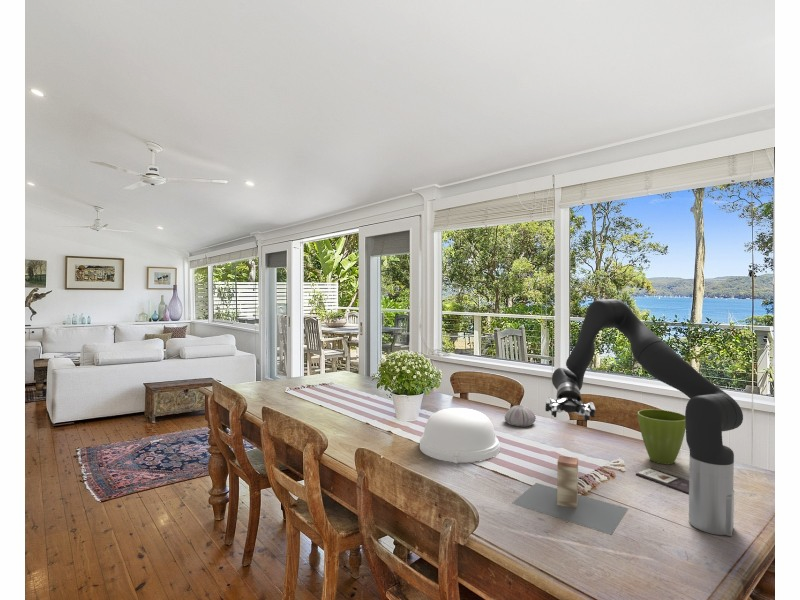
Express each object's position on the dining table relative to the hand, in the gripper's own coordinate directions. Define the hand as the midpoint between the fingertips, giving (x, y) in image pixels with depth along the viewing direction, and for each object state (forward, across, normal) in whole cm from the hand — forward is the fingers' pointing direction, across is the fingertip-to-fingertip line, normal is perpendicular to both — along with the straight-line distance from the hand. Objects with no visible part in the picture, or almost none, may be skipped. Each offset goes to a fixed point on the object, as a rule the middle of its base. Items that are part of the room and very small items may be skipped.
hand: (570, 416), depth 136 cm
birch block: (+12, 0, +20) cm, 24 cm away
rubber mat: (+14, +1, +20) cm, 25 cm away
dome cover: (-23, -37, +28) cm, 52 cm away
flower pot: (-32, +32, +25) cm, 52 cm away
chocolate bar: (-13, +32, +23) cm, 41 cm away
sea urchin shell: (-61, -17, +32) cm, 71 cm away
